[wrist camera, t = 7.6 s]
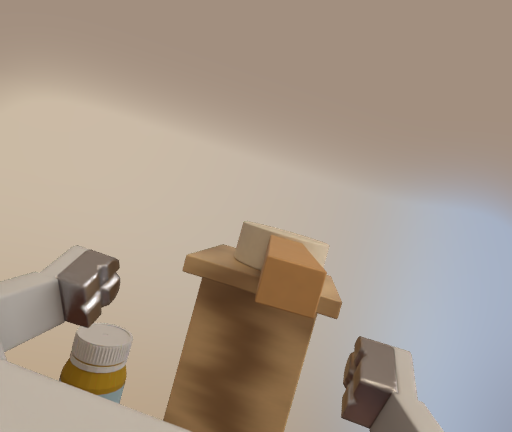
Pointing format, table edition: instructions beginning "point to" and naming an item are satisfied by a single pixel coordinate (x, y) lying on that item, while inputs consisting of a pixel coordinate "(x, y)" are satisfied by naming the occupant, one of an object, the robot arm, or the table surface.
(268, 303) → the scoop
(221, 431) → the stand
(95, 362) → the bottle
